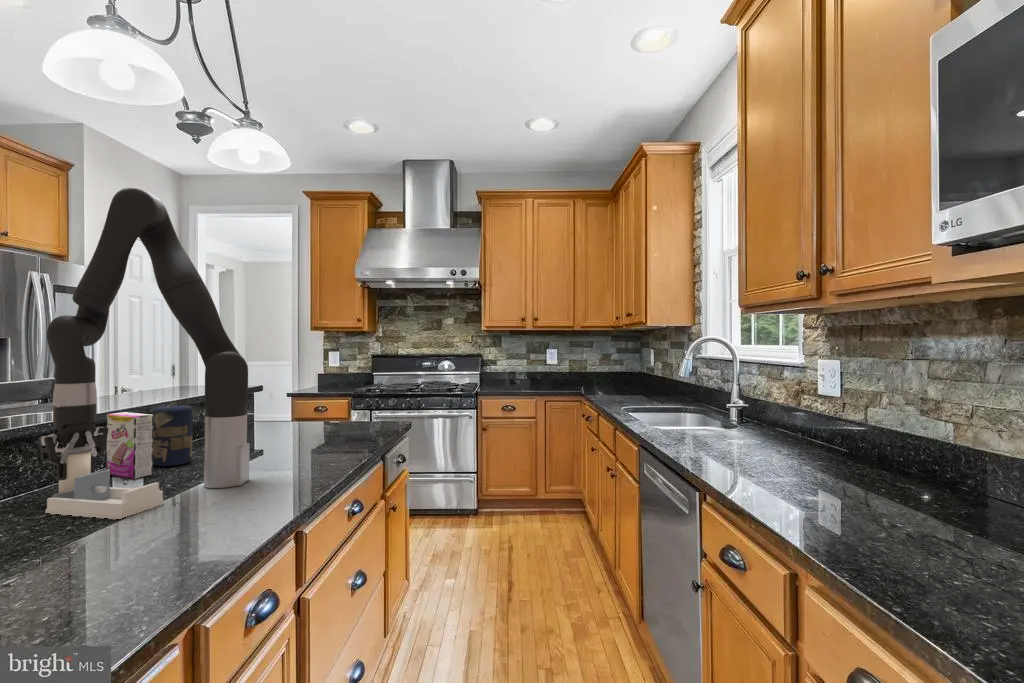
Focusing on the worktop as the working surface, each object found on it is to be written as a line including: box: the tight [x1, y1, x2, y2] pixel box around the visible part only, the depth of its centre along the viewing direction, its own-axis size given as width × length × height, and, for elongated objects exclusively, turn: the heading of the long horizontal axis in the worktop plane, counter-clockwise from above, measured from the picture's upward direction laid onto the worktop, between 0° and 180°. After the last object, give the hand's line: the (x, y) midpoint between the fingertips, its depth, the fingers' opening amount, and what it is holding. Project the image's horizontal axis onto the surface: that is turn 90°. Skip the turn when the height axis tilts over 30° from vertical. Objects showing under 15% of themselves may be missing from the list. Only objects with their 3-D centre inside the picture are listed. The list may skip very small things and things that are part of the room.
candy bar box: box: [105, 411, 154, 480], centre depth 131 cm, size 11×5×16 cm, turn 71°
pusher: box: [74, 469, 111, 501], centre depth 105 cm, size 3×7×6 cm, turn 170°
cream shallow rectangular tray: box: [45, 482, 165, 520], centre depth 105 cm, size 18×10×5 cm, turn 80°
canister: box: [152, 402, 194, 467], centre depth 144 cm, size 10×10×18 cm
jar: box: [58, 445, 92, 493], centre depth 113 cm, size 6×6×10 cm
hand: (74, 475), depth 113 cm, fingers closed on jar, 5 cm apart
